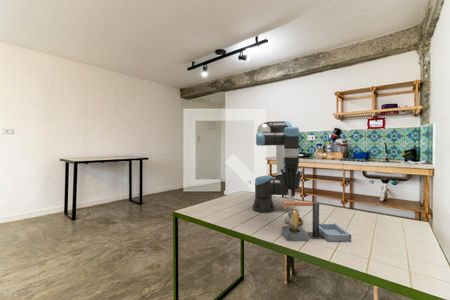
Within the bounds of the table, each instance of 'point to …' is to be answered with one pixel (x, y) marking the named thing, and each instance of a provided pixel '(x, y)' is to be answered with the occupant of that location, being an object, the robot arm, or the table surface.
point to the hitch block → (294, 234)
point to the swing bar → (300, 204)
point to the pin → (294, 220)
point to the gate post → (315, 225)
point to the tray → (334, 233)
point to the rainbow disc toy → (288, 219)
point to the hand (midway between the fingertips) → (291, 201)
